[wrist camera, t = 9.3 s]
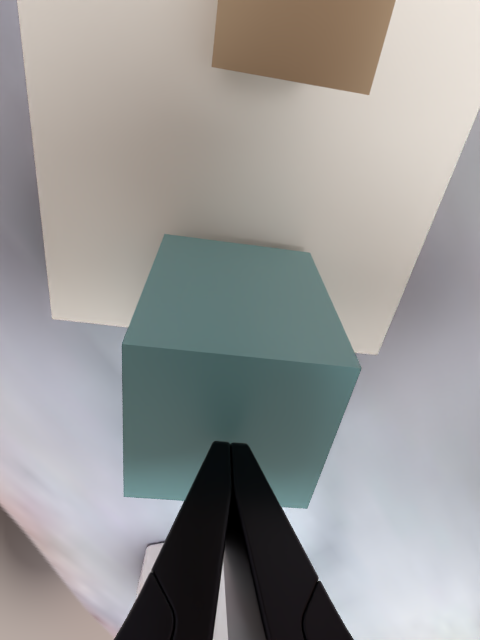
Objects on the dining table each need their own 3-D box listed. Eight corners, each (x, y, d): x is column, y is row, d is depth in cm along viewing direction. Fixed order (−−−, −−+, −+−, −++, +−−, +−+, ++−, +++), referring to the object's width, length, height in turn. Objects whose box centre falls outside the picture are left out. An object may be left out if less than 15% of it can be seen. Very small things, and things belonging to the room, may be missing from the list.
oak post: (326, -27, 11) (432, -132, 5) (303, 83, 12) (369, 94, 7) (231, -47, 11) (235, -180, 5) (219, 67, 12) (211, 66, 6)
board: (524, -16, 11) (531, -18, 11) (375, 351, 18) (377, 355, 18) (8, -128, 10) (2, -134, 10) (54, 315, 17) (52, 319, 16)
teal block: (309, 252, 14) (361, 368, 9) (281, 365, 17) (307, 508, 12) (164, 233, 14) (121, 344, 8) (158, 353, 17) (123, 496, 11)
